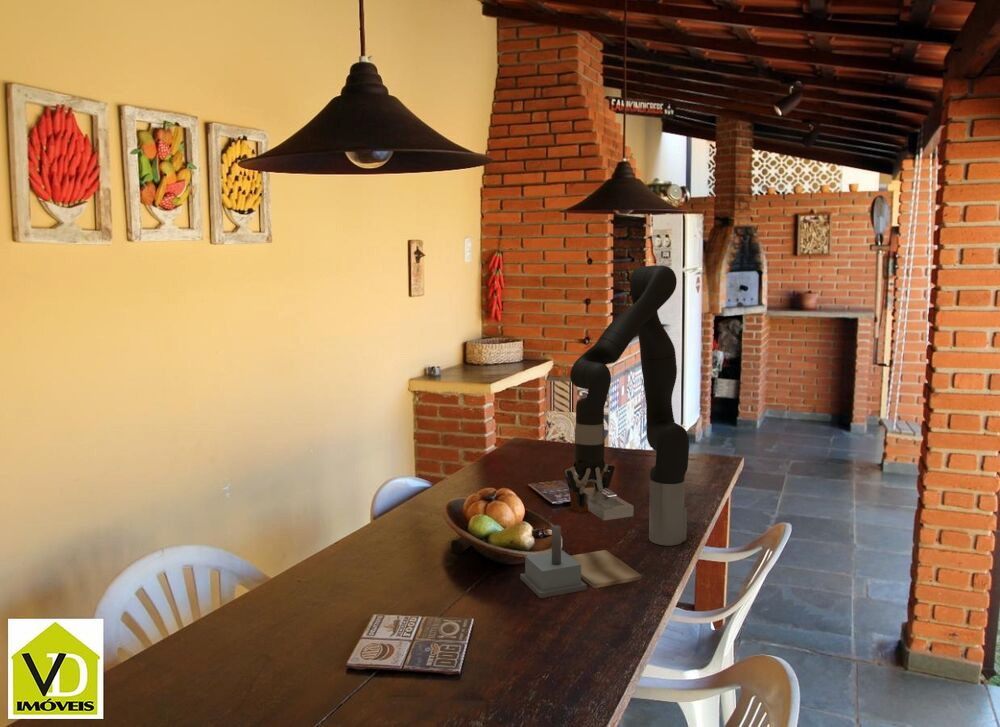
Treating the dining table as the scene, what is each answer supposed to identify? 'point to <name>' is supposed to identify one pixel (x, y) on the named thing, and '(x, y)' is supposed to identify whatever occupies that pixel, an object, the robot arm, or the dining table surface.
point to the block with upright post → (553, 571)
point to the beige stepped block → (606, 505)
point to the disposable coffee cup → (573, 496)
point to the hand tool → (459, 546)
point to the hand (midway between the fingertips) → (588, 505)
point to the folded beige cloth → (604, 569)
